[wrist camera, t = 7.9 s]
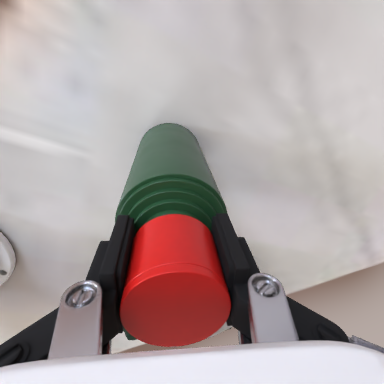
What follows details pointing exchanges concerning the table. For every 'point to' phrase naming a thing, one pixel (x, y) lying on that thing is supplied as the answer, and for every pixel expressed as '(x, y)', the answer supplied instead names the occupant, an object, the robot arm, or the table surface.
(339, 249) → the table surface
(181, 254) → the cap
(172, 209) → the bottle
